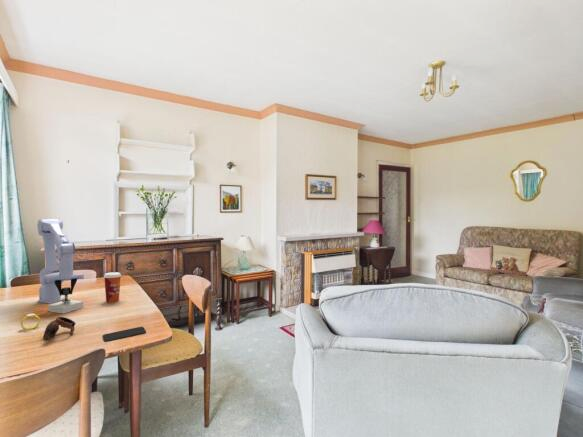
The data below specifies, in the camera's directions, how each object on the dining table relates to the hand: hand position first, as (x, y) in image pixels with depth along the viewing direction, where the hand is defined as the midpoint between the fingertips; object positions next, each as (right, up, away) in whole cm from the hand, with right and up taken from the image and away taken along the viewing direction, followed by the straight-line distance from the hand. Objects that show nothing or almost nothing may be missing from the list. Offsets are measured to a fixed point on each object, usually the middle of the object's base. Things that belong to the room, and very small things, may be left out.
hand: (66, 294), depth 151 cm
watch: (+2, -9, -23) cm, 25 cm away
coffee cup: (+14, -7, +15) cm, 22 cm away
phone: (+44, -10, -27) cm, 53 cm away
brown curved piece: (+19, -9, -30) cm, 37 cm away
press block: (0, -7, 0) cm, 7 cm away
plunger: (0, -4, 0) cm, 4 cm away
